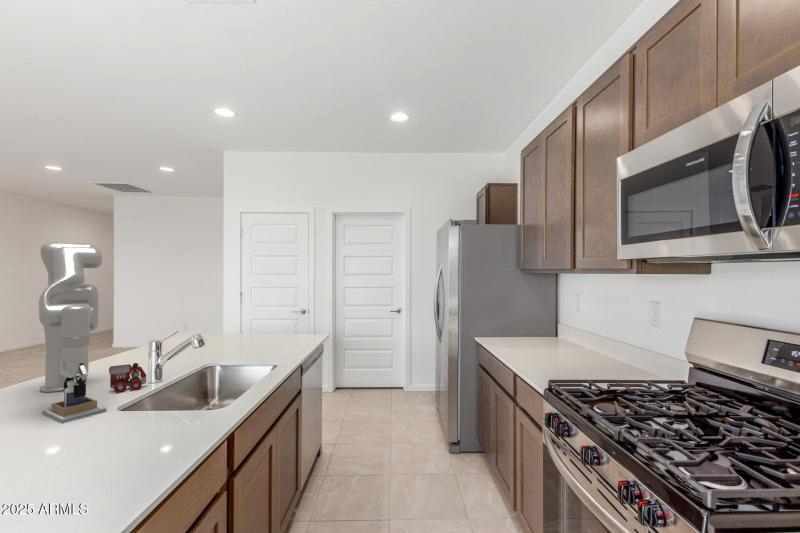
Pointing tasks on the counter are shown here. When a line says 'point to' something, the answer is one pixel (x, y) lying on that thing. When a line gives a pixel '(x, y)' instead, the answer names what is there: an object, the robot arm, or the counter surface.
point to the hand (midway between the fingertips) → (74, 394)
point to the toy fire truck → (126, 377)
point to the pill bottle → (71, 396)
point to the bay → (73, 410)
